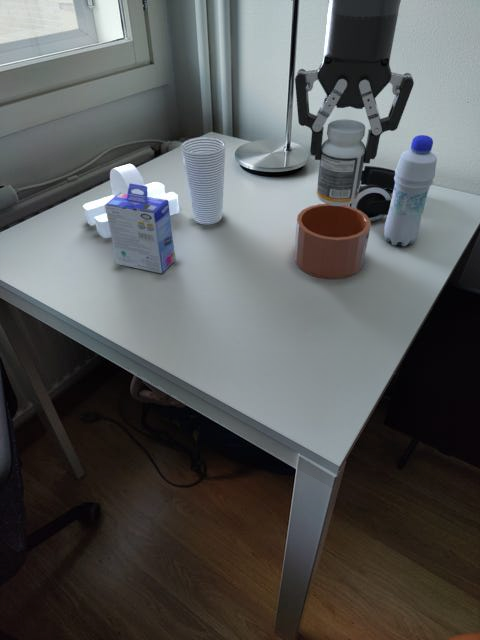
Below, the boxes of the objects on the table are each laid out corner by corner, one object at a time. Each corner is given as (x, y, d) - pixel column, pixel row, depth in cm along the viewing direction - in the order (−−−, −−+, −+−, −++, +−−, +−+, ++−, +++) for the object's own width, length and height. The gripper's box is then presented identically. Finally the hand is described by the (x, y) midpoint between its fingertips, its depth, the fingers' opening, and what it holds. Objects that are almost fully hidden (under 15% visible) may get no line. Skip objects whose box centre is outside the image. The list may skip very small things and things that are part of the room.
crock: (363, 244, 89) (370, 206, 84) (362, 282, 80) (370, 243, 75) (298, 238, 91) (301, 200, 86) (290, 274, 82) (293, 235, 77)
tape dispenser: (85, 220, 98) (72, 171, 91) (159, 196, 106) (153, 149, 99) (104, 239, 92) (91, 188, 85) (181, 211, 100) (176, 163, 93)
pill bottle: (332, 185, 68) (341, 114, 61) (365, 197, 65) (378, 124, 58) (307, 198, 65) (314, 125, 58) (341, 212, 62) (353, 136, 55)
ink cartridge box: (177, 258, 87) (168, 185, 77) (163, 275, 83) (152, 200, 73) (131, 249, 89) (116, 178, 80) (116, 264, 85) (99, 191, 76)
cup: (204, 232, 93) (198, 157, 83) (180, 217, 98) (171, 144, 88) (236, 218, 98) (234, 145, 87) (211, 204, 102) (206, 133, 92)
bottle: (388, 227, 94) (411, 126, 80) (421, 237, 91) (450, 134, 77) (375, 242, 90) (396, 138, 76) (409, 253, 87) (437, 146, 73)
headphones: (315, 165, 97) (379, 153, 107) (308, 200, 102) (370, 186, 112) (378, 197, 86) (443, 181, 96) (367, 234, 91) (430, 215, 101)
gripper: (293, 11, 48) (284, 167, 59) (437, 14, 46) (400, 175, 57) (299, 1, 54) (290, 145, 65) (428, 3, 52) (396, 152, 63)
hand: (342, 159), depth 61 cm, fingers closed on pill bottle, 5 cm apart
